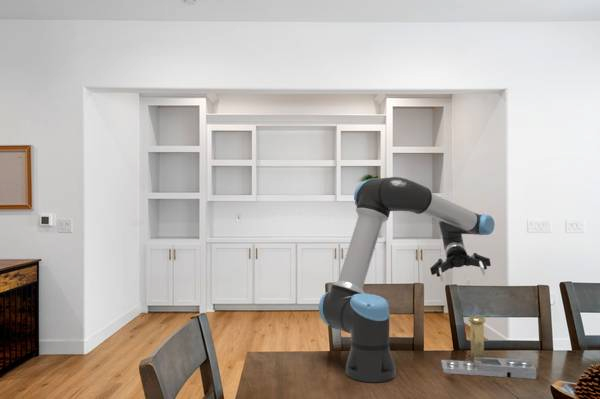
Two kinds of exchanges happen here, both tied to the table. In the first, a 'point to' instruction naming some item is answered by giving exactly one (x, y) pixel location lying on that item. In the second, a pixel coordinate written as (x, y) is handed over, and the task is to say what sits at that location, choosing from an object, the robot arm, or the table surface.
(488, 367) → the chain end
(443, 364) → the chain end
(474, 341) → the brass pin
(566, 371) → the table surface
